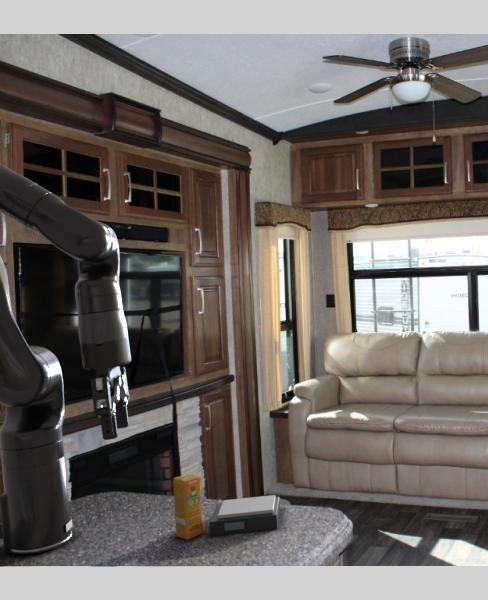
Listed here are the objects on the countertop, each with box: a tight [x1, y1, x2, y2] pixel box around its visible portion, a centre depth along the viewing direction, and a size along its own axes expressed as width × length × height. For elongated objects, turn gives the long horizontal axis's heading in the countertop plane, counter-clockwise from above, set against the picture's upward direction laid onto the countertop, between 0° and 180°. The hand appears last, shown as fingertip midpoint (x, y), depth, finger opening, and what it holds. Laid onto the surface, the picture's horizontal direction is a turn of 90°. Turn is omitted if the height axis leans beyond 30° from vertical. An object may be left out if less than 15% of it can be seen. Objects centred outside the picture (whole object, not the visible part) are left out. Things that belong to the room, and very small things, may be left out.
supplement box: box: [172, 472, 204, 540], centre depth 112 cm, size 3×3×10 cm
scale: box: [209, 494, 281, 537], centre depth 116 cm, size 11×9×3 cm
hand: (116, 433), depth 114 cm, fingers open, 8 cm apart
